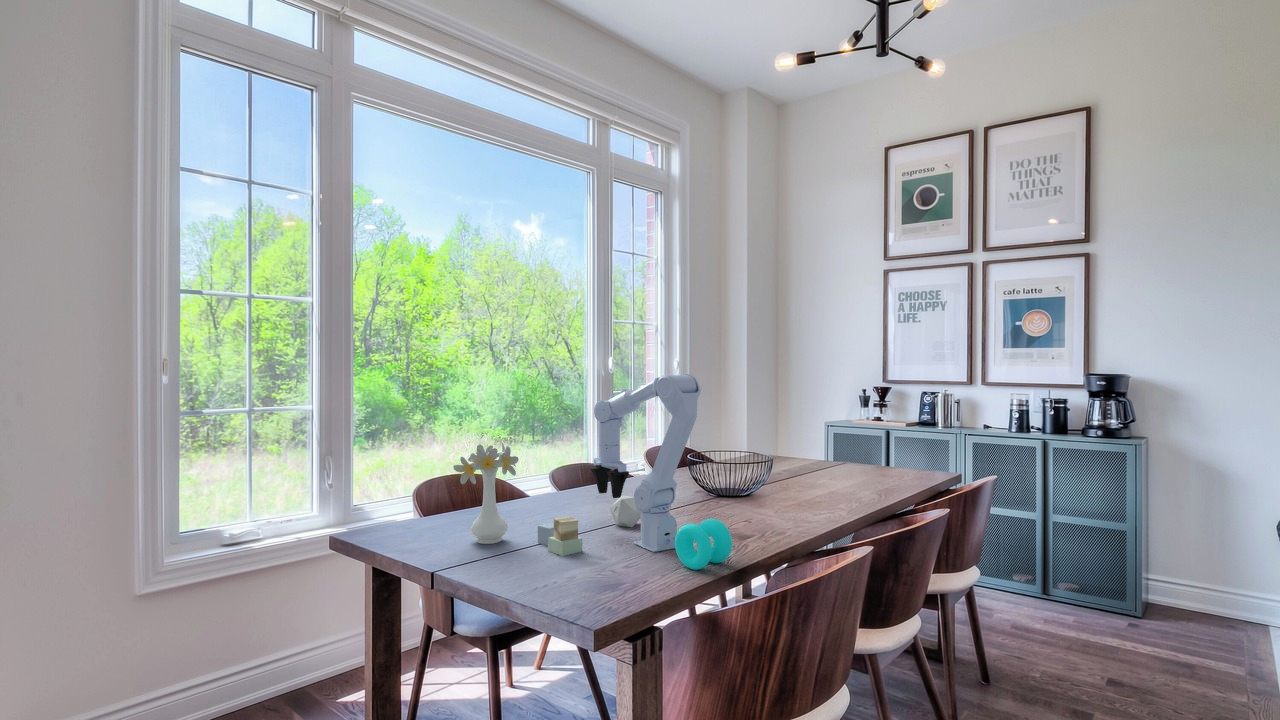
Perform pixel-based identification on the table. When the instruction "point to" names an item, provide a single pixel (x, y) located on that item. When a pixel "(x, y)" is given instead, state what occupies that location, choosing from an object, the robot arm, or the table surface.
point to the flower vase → (488, 490)
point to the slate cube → (545, 533)
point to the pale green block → (564, 546)
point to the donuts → (703, 543)
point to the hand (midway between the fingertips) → (609, 495)
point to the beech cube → (565, 528)
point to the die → (625, 512)
